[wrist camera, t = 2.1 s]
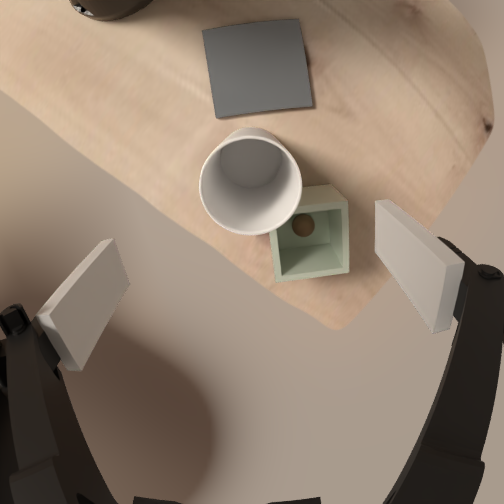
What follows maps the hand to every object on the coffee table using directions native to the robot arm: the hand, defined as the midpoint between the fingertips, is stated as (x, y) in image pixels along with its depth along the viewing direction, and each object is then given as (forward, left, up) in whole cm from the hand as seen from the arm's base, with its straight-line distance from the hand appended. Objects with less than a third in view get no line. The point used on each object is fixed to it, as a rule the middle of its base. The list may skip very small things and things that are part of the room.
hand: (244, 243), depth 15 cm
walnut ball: (+9, +6, -26) cm, 28 cm away
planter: (+9, +6, -26) cm, 28 cm away
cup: (0, 0, -27) cm, 27 cm away
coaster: (-12, +3, -26) cm, 29 cm away
